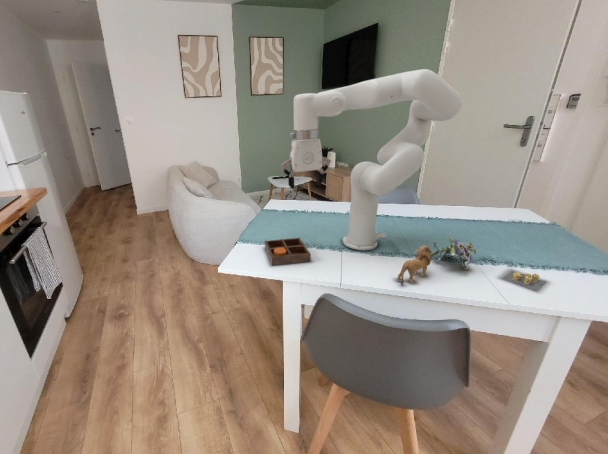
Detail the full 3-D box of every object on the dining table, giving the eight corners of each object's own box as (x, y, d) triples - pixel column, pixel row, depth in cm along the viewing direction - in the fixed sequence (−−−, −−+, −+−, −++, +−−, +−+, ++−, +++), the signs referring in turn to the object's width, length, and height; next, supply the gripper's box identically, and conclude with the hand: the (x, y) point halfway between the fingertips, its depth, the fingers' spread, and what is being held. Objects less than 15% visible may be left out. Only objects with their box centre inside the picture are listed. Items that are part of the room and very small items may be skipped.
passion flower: (460, 282, 96) (479, 268, 86) (424, 271, 99) (438, 256, 89) (463, 253, 101) (482, 237, 90) (429, 243, 104) (443, 226, 94)
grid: (299, 244, 115) (299, 237, 114) (310, 261, 102) (310, 254, 101) (264, 248, 114) (264, 240, 112) (271, 265, 101) (271, 257, 100)
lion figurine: (414, 265, 97) (419, 241, 93) (431, 272, 93) (437, 246, 89) (392, 283, 88) (397, 257, 85) (411, 290, 84) (416, 263, 81)
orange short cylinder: (284, 254, 106) (284, 246, 105) (287, 259, 102) (287, 252, 101) (272, 255, 106) (272, 248, 105) (275, 261, 102) (275, 253, 101)
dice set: (538, 280, 86) (540, 275, 85) (531, 286, 83) (534, 281, 83) (516, 273, 90) (518, 268, 89) (510, 279, 87) (511, 273, 87)
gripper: (282, 138, 90) (283, 191, 97) (335, 133, 92) (333, 186, 98) (277, 136, 97) (278, 186, 103) (326, 131, 98) (325, 181, 105)
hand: (305, 186), depth 101 cm, fingers open, 9 cm apart
